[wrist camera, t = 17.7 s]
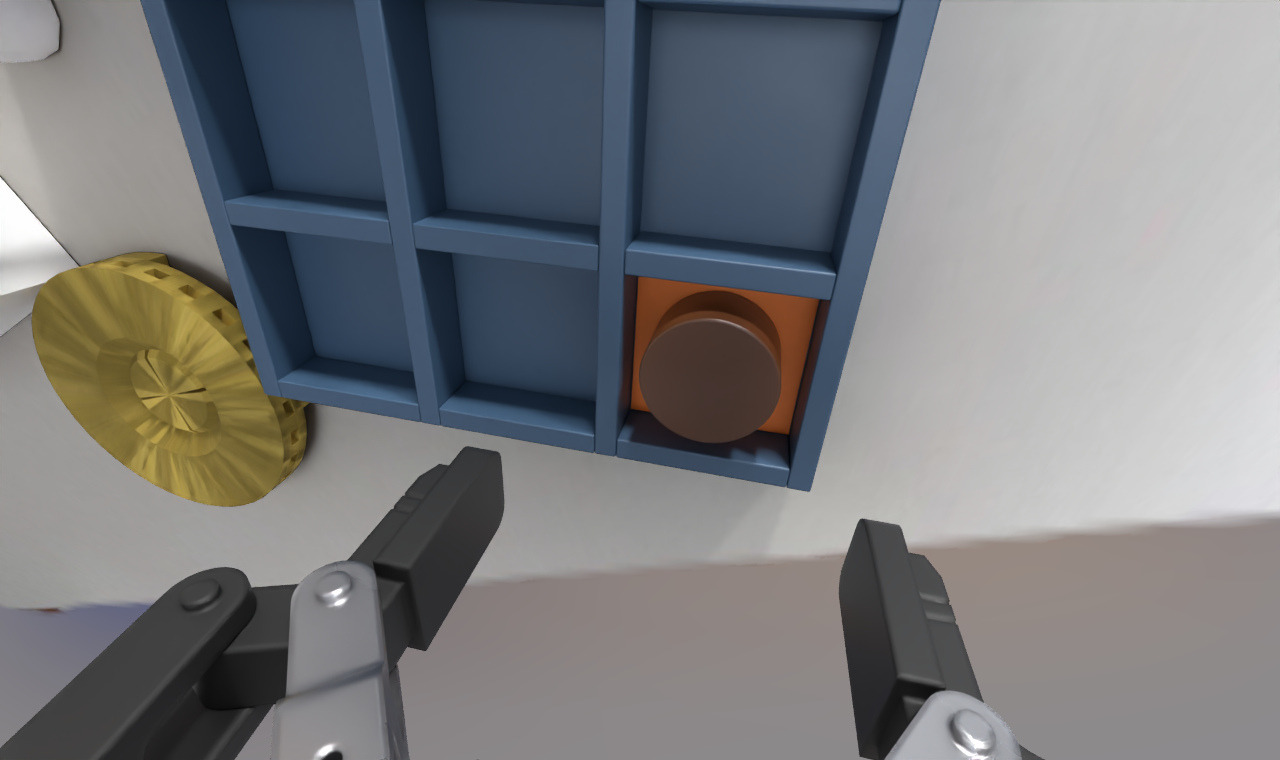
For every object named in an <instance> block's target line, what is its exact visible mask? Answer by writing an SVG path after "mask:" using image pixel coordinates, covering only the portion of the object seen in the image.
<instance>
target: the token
mask: <svg viewBox="0 0 1280 760" xmlns="http://www.w3.org/2000/svg"><path fill="white" fill-rule="evenodd" d="M639 384H640V390H641V393H642V396H643V399H644V401H645V403H646V405H647V407H648V408H649V410H650V412H651V413H652V414H653V415H654V417H655V418H656V419H657V420H658V421H659V422H660V423H661V424H662V425H664V426H665V427H666V428H668V429H669V430H671V431H672V432H674V433H676V434H678V435H680V436H682V437H684V438H687V439H690V440H694V441H698V442H705V443H723V442H729V441H734V440H737V439H740V438H743V437H745V436H747V435H749V434H751V433H753V432H754V431H756V430H757V429H758V428H760V427H761V426H762V425H763V424H764V423H765V422H766V421H767V420H768V419H769V418H770V416H771V415H772V413H773V412H774V410H775V408H776V406H777V404H778V401H779V397H780V393H781V343H780V338H779V335H778V332H777V329H776V327H775V325H774V323H773V322H772V320H771V319H770V317H769V316H768V315H767V314H766V313H765V312H764V310H762V309H761V308H760V307H759V306H758V305H757V304H755V303H753V302H752V301H750V300H749V299H747V298H744V297H742V296H740V295H737V294H734V293H729V292H724V291H705V292H700V293H696V294H693V295H690V296H687V297H685V298H683V299H681V300H680V301H678V302H677V303H675V304H674V305H673V306H672V307H670V308H669V309H668V310H667V312H666V313H665V314H664V315H663V317H662V318H661V320H660V321H659V323H658V325H657V327H656V330H655V332H654V334H653V336H652V338H651V340H650V342H649V344H648V346H647V349H646V351H645V353H644V355H643V357H642V360H641V364H640V369H639Z"/></svg>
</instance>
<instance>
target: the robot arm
mask: <svg viewBox="0 0 1280 760" xmlns="http://www.w3.org/2000/svg"><path fill="white" fill-rule="evenodd" d="M503 511H504V490H503V477H502V464H501V456H500V454H499V452H496V451H491V450H485V449H480V448H474V447H469V446H467V447H464V448H463V449H462V450H461V451H460V453H459V454H458V455H457V456H456V458H455V459H454V460H453V461H452V463H451V464H450V465H449V466H448V465H442V464H439V465H437V466H436V467H434V468H432V469H431V470H429V471H427V472H426V473H424V474H422V475H421V476H419V477H418V478H417V480H416V481H415V482H414V483H413V484H412V486H411V487H410V488H409V489H408V490H407V491H406V493H405V496H402V497H401V498H400V500H399V501H398V502H397V503H396V504H395V505H394V509H391V510H390V511H389V512H388V514H387V515H386V516H385V517H384V518H383V519H382V521H381V522H380V523H379V524H378V525H377V527H376V528H375V529H374V530H373V531H372V532H371V534H370V535H369V536H368V537H367V538H366V539H365V541H364V542H363V543H362V544H361V545H360V546H359V548H358V549H357V550H356V551H355V552H354V553H353V555H352V556H351V557H350V558H349V559H348V560H347V561H339V562H334V563H331V564H328V565H325V566H323V567H321V568H319V569H317V570H315V571H314V572H312V573H311V574H309V575H308V576H307V577H306V578H304V579H303V580H302V581H301V583H300V584H294V585H280V586H267V587H253V588H251V585H250V583H249V580H248V578H247V576H246V575H245V574H244V573H243V572H242V571H240V570H238V569H235V568H228V567H221V568H213V569H209V570H205V571H202V572H199V573H196V574H194V575H192V576H189V577H187V578H185V579H184V580H182V581H180V582H179V583H177V584H176V585H174V586H173V587H172V588H170V589H169V590H168V591H167V592H166V593H165V594H164V595H163V596H162V597H160V598H159V599H158V600H157V601H156V602H155V603H154V604H153V605H152V606H151V607H150V608H149V609H148V610H147V611H146V612H144V613H143V615H141V616H140V617H139V618H138V619H137V620H136V621H135V622H134V623H133V624H132V625H131V626H130V627H129V628H127V629H126V630H125V631H124V632H123V633H122V634H121V635H120V636H119V637H118V638H117V639H116V640H115V641H114V642H113V643H112V644H110V646H108V647H107V648H106V649H105V650H104V651H103V652H102V653H101V654H100V655H99V656H98V657H97V658H96V659H94V660H93V661H92V662H91V663H90V664H89V665H88V666H87V667H86V668H85V669H84V670H83V671H82V672H81V673H80V674H78V675H77V676H76V677H75V678H74V679H73V680H72V681H71V682H70V683H69V684H68V685H67V686H66V687H65V688H64V689H63V690H61V691H60V692H59V693H58V694H57V695H56V696H55V697H54V698H53V699H52V700H51V701H50V702H49V703H48V704H47V705H46V706H44V707H43V708H42V709H41V710H40V711H39V712H38V713H37V714H36V715H35V716H34V717H33V718H32V719H31V720H30V721H29V722H27V724H25V725H24V726H23V727H22V728H21V729H20V730H19V731H18V732H17V733H16V734H15V735H14V736H12V738H10V739H9V740H8V741H7V742H6V743H5V744H4V745H3V746H2V747H1V748H0V760H234V759H235V758H236V757H237V755H238V754H239V752H240V751H241V750H242V748H243V746H244V745H245V744H246V742H247V741H248V740H249V738H250V737H251V735H252V734H253V733H254V731H255V730H256V728H257V727H258V726H259V724H260V723H261V721H262V720H263V719H264V717H265V716H266V714H267V713H268V712H269V710H270V709H271V707H272V706H273V704H276V705H275V708H274V715H273V727H272V741H271V755H270V760H410V759H409V752H408V744H407V736H406V728H405V719H404V711H403V703H402V696H401V687H400V678H399V670H398V665H397V662H398V660H399V659H400V657H401V656H402V654H403V653H404V651H405V649H406V648H407V647H410V648H414V649H419V650H423V651H426V650H427V649H428V647H429V645H430V643H431V642H432V640H433V638H434V637H435V635H436V633H437V631H438V630H439V628H440V626H441V625H442V623H443V621H444V620H445V618H446V616H447V615H448V613H449V611H450V609H451V608H452V606H453V604H454V603H455V601H456V599H457V598H458V596H459V594H460V592H461V591H462V589H463V587H464V586H465V584H466V582H467V581H468V579H469V577H470V575H471V574H472V572H473V570H474V569H475V567H476V565H477V564H478V562H479V560H480V558H481V557H482V555H483V553H484V552H485V550H486V548H487V547H488V545H489V543H490V541H491V540H492V538H493V536H494V535H495V533H496V531H497V529H498V528H499V525H500V523H501V520H502V516H503ZM839 600H840V608H841V616H842V624H843V631H844V639H845V647H846V654H847V661H848V670H849V677H850V685H851V693H852V701H853V708H854V716H855V723H856V731H857V740H858V747H859V755H860V757H864V758H868V759H872V760H1044V759H1042V758H1040V757H1038V756H1036V755H1035V754H1033V753H1031V752H1030V751H1028V750H1027V749H1025V748H1024V747H1022V746H1021V745H1019V744H1018V742H1017V740H1016V738H1015V736H1014V734H1013V732H1012V731H1011V729H1010V728H1009V726H1008V725H1007V724H1006V723H1005V721H1004V720H1003V719H1002V718H1001V717H1000V716H999V715H998V714H997V713H996V712H995V711H994V710H992V709H991V708H990V707H989V706H987V705H986V704H984V701H983V699H982V696H981V693H980V690H979V687H978V685H977V681H976V678H975V676H974V672H973V670H972V667H971V664H970V661H969V658H968V655H967V652H966V649H965V646H964V643H963V640H962V637H961V634H960V631H959V628H958V625H956V623H955V621H956V619H955V616H954V613H953V610H952V607H951V605H949V598H948V595H947V592H946V589H945V586H944V583H943V580H942V577H941V576H940V575H939V574H938V572H937V571H936V570H935V568H934V567H933V566H932V565H931V563H930V562H929V561H928V560H927V558H926V557H925V556H924V555H919V554H913V553H908V550H907V546H906V543H905V539H904V536H903V532H902V529H901V527H900V526H899V525H895V524H889V523H884V522H878V521H873V520H867V519H860V520H859V522H858V524H857V526H856V529H855V532H854V535H853V538H852V541H851V544H850V547H849V550H848V553H847V555H846V558H845V561H844V564H843V567H842V571H841V575H840V583H839Z"/></svg>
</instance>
